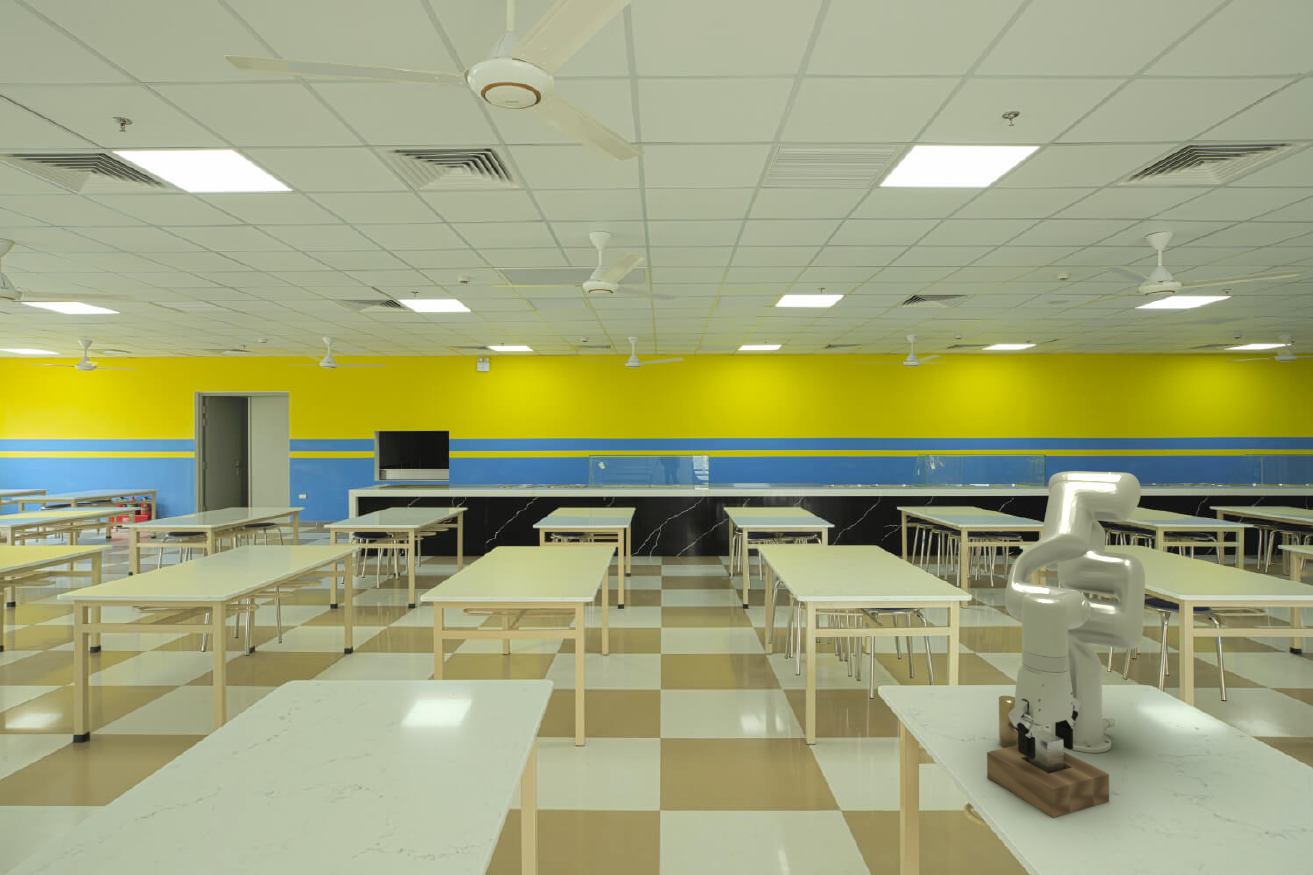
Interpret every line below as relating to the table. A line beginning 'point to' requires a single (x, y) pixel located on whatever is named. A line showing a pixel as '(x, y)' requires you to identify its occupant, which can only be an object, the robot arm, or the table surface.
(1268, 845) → the table surface
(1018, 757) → the socket block
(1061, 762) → the square peg
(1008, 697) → the round peg
